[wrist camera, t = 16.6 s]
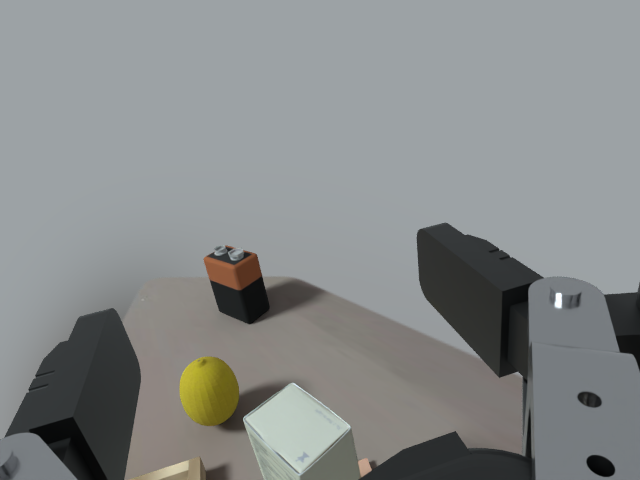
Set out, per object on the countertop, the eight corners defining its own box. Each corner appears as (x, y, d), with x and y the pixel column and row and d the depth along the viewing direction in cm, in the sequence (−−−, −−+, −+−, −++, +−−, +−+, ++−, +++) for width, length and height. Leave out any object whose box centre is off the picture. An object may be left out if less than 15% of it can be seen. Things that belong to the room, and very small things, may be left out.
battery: (249, 326, 59) (231, 262, 54) (218, 312, 63) (199, 252, 58) (271, 309, 61) (256, 246, 57) (240, 297, 66) (224, 238, 61)
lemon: (214, 395, 48) (194, 337, 44) (256, 405, 46) (239, 346, 42) (181, 435, 43) (156, 375, 40) (226, 449, 41) (204, 387, 38)
